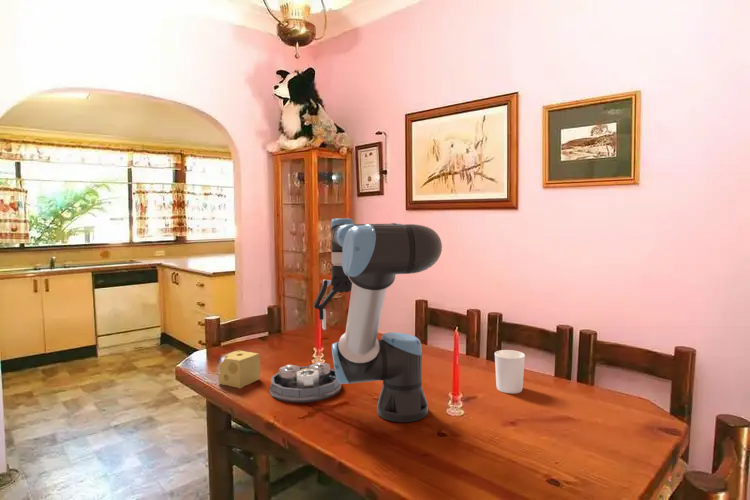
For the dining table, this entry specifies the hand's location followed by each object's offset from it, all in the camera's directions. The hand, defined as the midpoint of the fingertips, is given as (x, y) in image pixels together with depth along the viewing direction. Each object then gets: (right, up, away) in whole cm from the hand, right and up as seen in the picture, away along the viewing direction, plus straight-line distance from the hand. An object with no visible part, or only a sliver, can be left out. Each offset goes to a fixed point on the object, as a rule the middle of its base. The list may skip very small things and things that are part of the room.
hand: (344, 327), depth 157 cm
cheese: (-38, -21, +9) cm, 44 cm away
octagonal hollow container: (-12, -20, -4) cm, 23 cm away
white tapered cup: (+56, -21, -1) cm, 59 cm away
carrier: (-13, -21, +2) cm, 25 cm away
